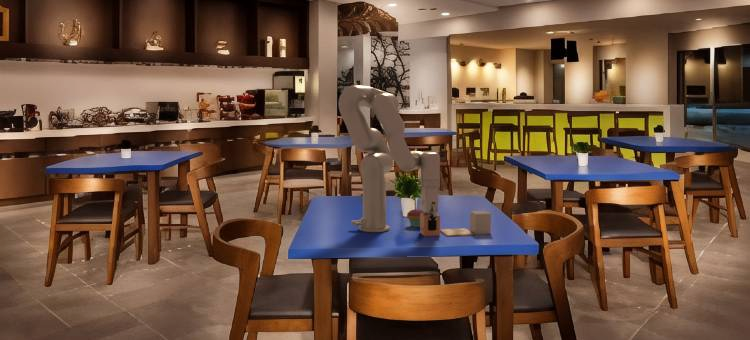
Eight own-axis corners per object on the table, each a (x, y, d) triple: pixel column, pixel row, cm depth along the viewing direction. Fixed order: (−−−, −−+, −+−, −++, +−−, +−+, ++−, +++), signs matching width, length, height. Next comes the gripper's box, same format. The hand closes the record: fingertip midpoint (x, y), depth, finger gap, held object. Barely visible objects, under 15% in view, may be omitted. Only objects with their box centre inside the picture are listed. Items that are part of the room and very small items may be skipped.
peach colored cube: (424, 236, 240) (424, 216, 239) (419, 232, 246) (420, 213, 245) (439, 235, 241) (440, 215, 240) (435, 232, 247) (435, 212, 247)
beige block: (475, 234, 244) (475, 214, 243) (470, 230, 250) (470, 211, 249) (490, 233, 245) (490, 213, 244) (484, 230, 251) (485, 210, 250)
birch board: (447, 236, 239) (447, 234, 239) (439, 230, 250) (439, 229, 250) (474, 235, 241) (474, 233, 241) (465, 229, 252) (465, 228, 252)
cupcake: (403, 224, 262) (403, 197, 261) (421, 223, 266) (421, 195, 264) (412, 228, 255) (412, 200, 253) (430, 226, 258) (430, 198, 257)
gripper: (415, 181, 249) (415, 224, 251) (426, 186, 232) (426, 233, 234) (433, 180, 251) (433, 223, 253) (445, 186, 234) (445, 232, 236)
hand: (429, 228), depth 243 cm, fingers closed on peach colored cube, 6 cm apart
